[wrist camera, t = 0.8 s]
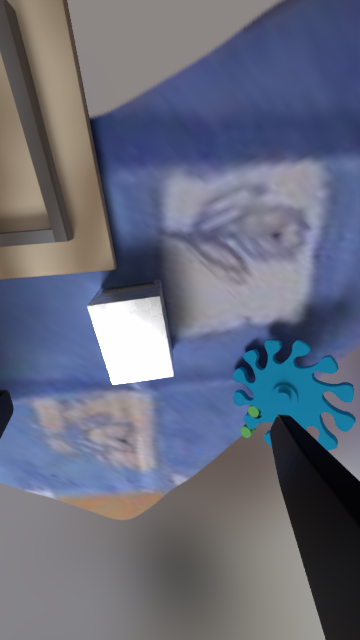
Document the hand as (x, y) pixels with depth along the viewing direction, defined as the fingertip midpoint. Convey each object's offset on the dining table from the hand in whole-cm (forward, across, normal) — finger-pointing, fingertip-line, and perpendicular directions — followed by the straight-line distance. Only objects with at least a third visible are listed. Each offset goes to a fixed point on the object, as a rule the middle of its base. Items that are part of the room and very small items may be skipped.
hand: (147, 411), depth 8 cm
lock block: (+13, +2, +4) cm, 14 cm away
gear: (+14, -11, +8) cm, 20 cm away
